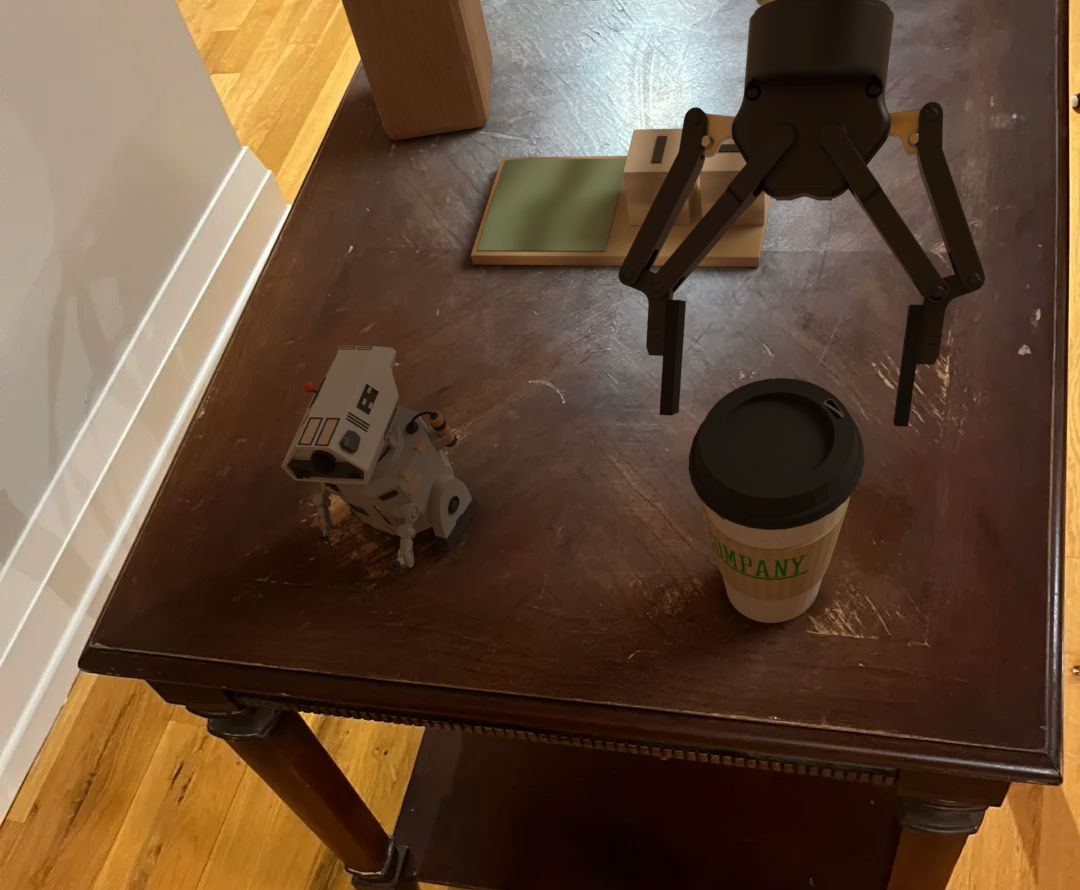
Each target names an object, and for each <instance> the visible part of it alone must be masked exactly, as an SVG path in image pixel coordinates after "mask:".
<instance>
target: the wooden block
mask: <svg viewBox="0 0 1080 890" xmlns="http://www.w3.org/2000/svg"><path fill="white" fill-rule="evenodd" d="M341 3H342V6H343V9H344V12H345V15H346V19H347V22H348V25H349V27H350V31H351V33H352V36H353V39H354V43H355V46H356V49H357V52H358V55H359V57H360V61H361V64H362V68H363V70H364V72H365V73H364V74H365V76H366V78H367V82H368V85H369V88H370V90H371V94H372V97H373V100H374V103H375V106H376V109H377V113H378V115H379V118H380V121H381V124H382V127H383V130H384V132H385V134H386V136H387V137H388V138H389V139H390V140H393V141H400V140H401V141H402V140H407V139H413V138H418V137H426V136H432V135H437V134H445V133H451V132H457V131H463V130H469V129H470V130H471V129H476V128H481V127H483V126H485V125H487V124H488V122H489V119H490V114H491V97H492V96H491V94H492V78H493V53H492V48H491V45H490V39H489V35H488V31H487V26H486V22H485V16H484V11H483V8H482V3H481V0H341Z"/></svg>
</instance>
